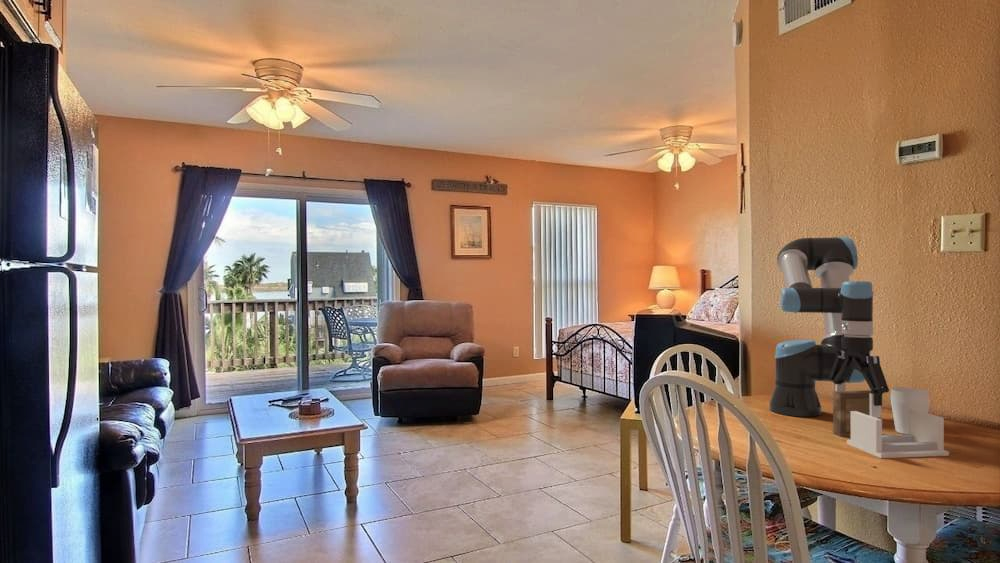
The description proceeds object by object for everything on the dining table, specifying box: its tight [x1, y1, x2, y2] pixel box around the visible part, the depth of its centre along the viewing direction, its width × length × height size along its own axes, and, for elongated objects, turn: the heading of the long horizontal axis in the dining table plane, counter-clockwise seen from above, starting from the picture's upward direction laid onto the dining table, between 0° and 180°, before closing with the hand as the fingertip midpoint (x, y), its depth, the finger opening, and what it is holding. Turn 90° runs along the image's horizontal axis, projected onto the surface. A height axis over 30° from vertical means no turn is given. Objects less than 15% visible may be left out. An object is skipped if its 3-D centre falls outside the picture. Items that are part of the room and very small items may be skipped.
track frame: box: [846, 409, 950, 459], centre depth 145 cm, size 12×18×9 cm, turn 95°
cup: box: [890, 386, 931, 435], centre depth 161 cm, size 9×9×12 cm
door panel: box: [832, 389, 882, 438], centre depth 159 cm, size 3×12×12 cm, turn 95°
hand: (857, 411), depth 159 cm, fingers open, 13 cm apart
